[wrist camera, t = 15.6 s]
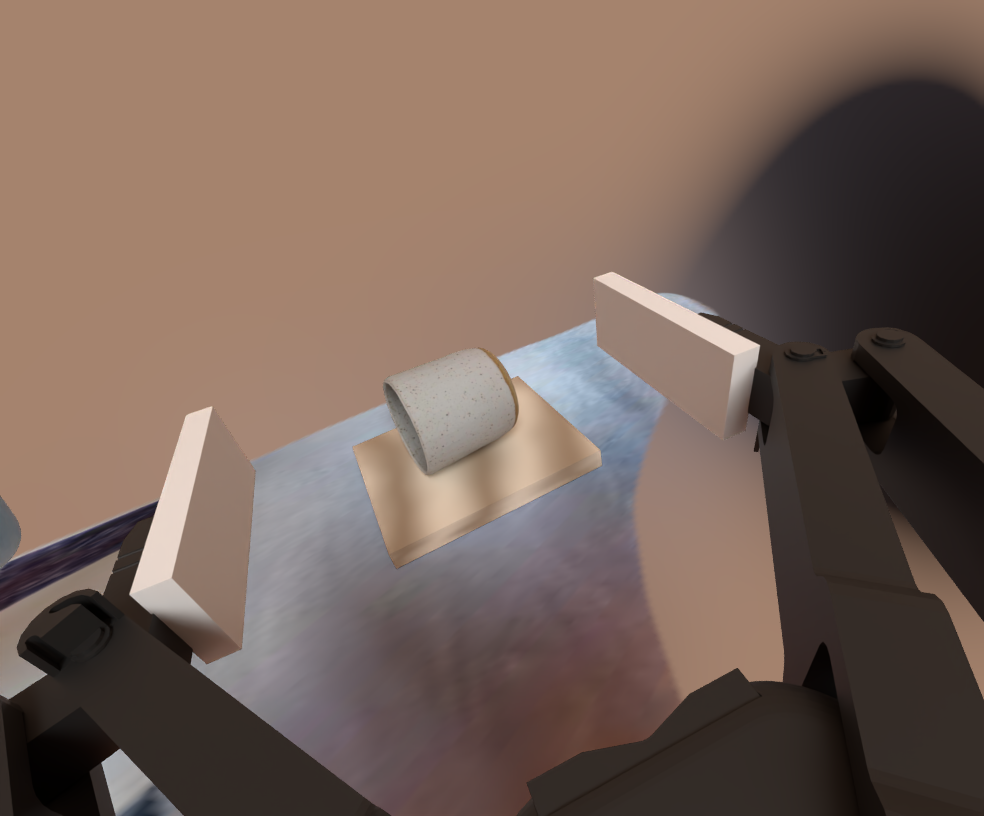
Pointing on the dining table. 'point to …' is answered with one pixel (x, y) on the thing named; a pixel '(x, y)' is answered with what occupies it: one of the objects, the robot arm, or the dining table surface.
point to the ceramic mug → (451, 406)
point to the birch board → (471, 478)
